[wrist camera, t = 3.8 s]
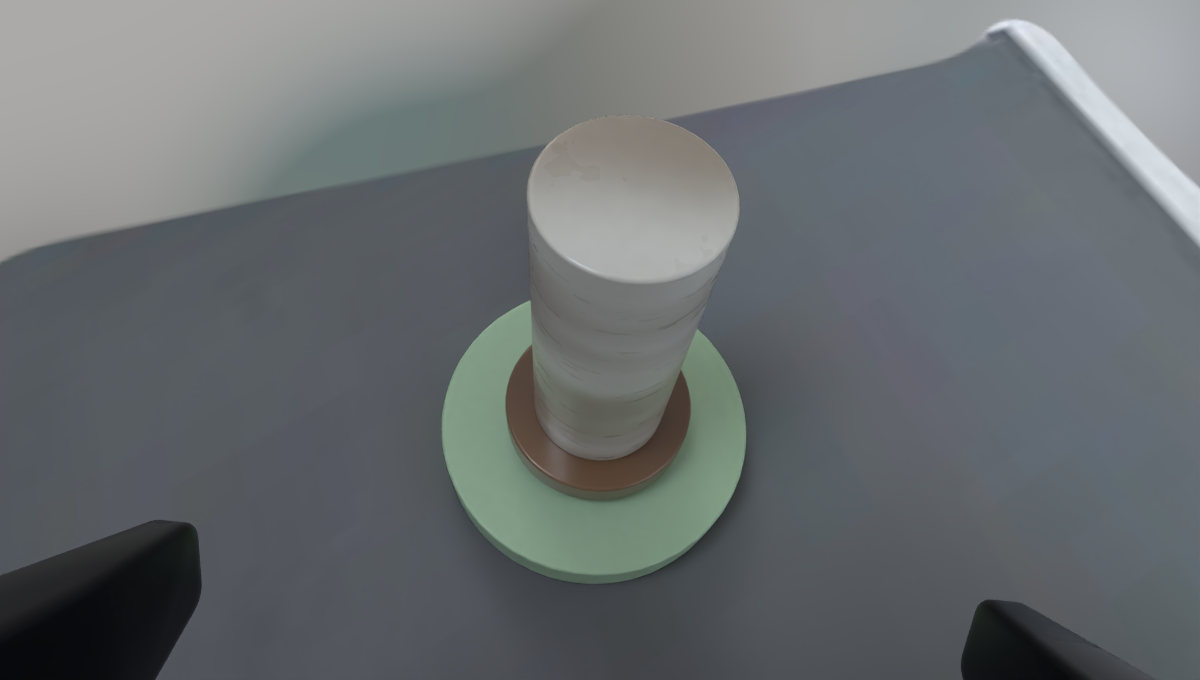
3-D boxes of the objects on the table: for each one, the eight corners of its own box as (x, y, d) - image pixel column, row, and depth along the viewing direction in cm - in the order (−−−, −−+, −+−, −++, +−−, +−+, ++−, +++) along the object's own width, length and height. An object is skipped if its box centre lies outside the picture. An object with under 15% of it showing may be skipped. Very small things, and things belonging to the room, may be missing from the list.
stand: (748, 586, 20) (762, 577, 19) (431, 582, 19) (423, 573, 18) (722, 315, 24) (732, 292, 23) (462, 306, 24) (456, 282, 22)
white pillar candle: (690, 503, 19) (808, 332, 11) (500, 499, 19) (463, 321, 10) (670, 184, 25) (738, -101, 16) (522, 177, 24) (510, -118, 16)
